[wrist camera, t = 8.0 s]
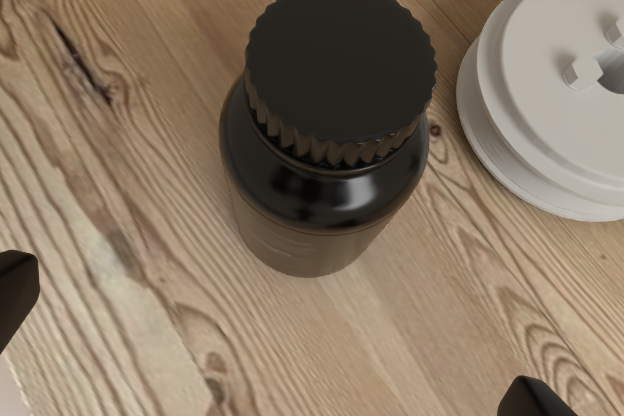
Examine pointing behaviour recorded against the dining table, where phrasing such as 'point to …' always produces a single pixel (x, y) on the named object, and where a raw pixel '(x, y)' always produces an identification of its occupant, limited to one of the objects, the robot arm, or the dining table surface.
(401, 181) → the supplement bottle
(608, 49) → the lid
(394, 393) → the dining table surface
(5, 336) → the robot arm
